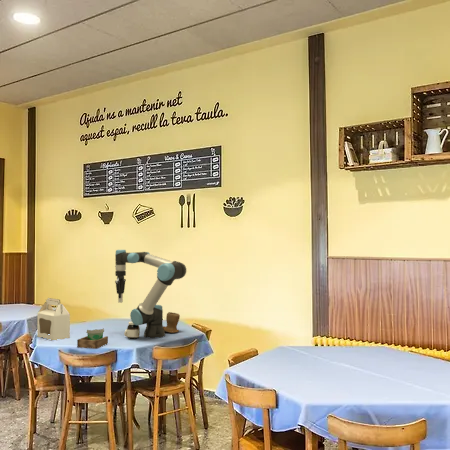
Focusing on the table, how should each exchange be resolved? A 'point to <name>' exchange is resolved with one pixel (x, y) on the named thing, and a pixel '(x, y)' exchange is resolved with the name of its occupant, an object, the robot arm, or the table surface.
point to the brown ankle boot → (172, 322)
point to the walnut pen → (91, 342)
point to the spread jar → (132, 331)
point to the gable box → (53, 321)
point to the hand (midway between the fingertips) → (120, 302)
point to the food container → (95, 334)
